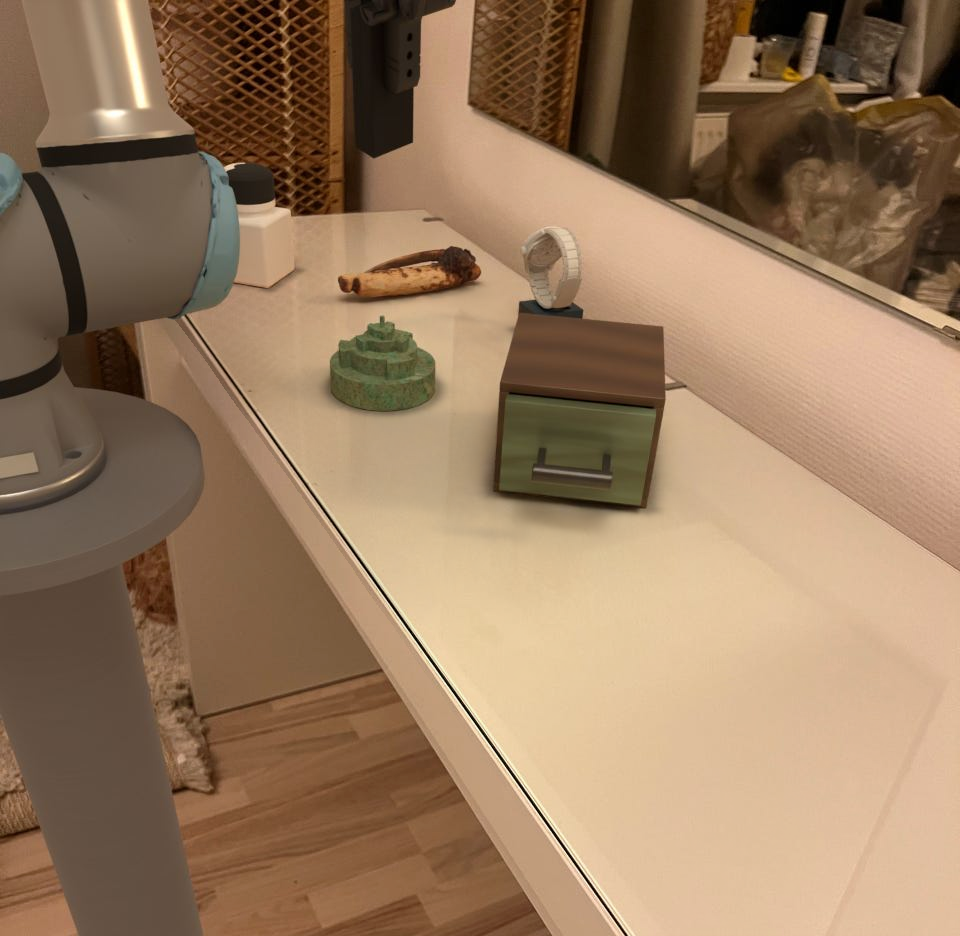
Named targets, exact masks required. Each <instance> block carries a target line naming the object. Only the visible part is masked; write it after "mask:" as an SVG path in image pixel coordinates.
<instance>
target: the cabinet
mask: <svg viewBox="0 0 960 936" xmlns="http://www.w3.org/2000/svg"><path fill="white" fill-rule="evenodd" d="M664 329H665V327H664V326H663V325H652V324H641V323H632V322H631V323H630V322H619V321H611V320H601V319H590V318H582V319H580V318H570V317H560V316H549V315H539V314H528V313H519V316H518V315H517V320H516V323H515V327H514V331H513V334H512V338H511V341H510V345H509V349H508V352H507V355H506V360H505V362H504V366H503V370H502V373H501V377H500V380H499V391H498V406H497V420H496V421H497V422H496V435H495V436H496V437H495V451H494V453H495V454H494V467H493V469H494V471H493V483H492V484H493V486H492V490H493V492H497V493H498V492H499V493H507V494H516V495H524V496H532V497H533V496H534V497H543V498H550V499H551V498H552V499H561V500H570V501H578V502H579V501H580V502H588V503H597V504H606V505H607V504H608V505H616V506H624V507H636V508H643V509H645V508H647V506H648V500H649V495H650V490H651V483H652V480H653V479H652V478H653V474H654V468H655V462H656V457H657V450H658V445H659V439H660V434H661V428H662V423H663V417H664V411H665V406H666V398H667V396H666V393H667V392H666V366H665V365H666V362H665V332H664ZM517 393H522V394H531V395H541V396H551V397H561V398H571V399H580V400H590V401H600V402H610V403H619V404H629V405H639V406H646V408H649V409H656V419H655V425H654V431H653V437H652V442H651V448H650V454H649V460H648V465H647V471H646V477H645V483H644V488H643V494H642V500H641V505H633V504H623V503H614V502H605V501H596V500H587V499H578V498H569V497H560V496H550V495H541V494H532V493H523V492H514V491H505V490H499V484H500V469H501V455H502V440H503V425H504V411H505V400H506V396H507V394H512V395H517Z"/></svg>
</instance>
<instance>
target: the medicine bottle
mask: <svg viewBox="0 0 960 936" xmlns="http://www.w3.org/2000/svg"><path fill="white" fill-rule="evenodd" d="M223 167H224V169H225V170H226V172H227V175H228V177H229V186H230V187H232V189H233V192H234V196H235V200H236V204H237V210H238V218H239V229H240V254H239V264H238V270H237V274H236V278H235V280H234V282H233V284H234V283H235V284H240V285H247V286H252V287H259V288H265V289H269V288H271V287H272V286H273V285H275V284H276V283H278V282H279V281H281V280H282V279H284V278H285V277H287V276H288V275H289V274H291V273H292V272H293V271H294V270H295V268H296V266H295V251H294V241H293V240H294V239H293V225H292V212H291V210H290V209H289V208H287V207H286V208H285V207H280V206H276V192H275V180H274V179H275V178H274V173H273V171H272V170H271V169H270V168H269V167H267V166H265V165H263V164H259V163H255V162H236V163H230V164H228V165H225V166H223Z"/></svg>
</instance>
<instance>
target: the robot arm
mask: <svg viewBox="0 0 960 936" xmlns="http://www.w3.org/2000/svg"><path fill="white" fill-rule="evenodd" d="M343 2H344V11H345V12H344V14H345V15H344V16H345V17H344V18H345V33H346V35H345V40H346V41H345V42H346V57H347V61H348V65H349V68H350V69H351V72H352V73H351V75H352V96H353V97H352V99H353V126H354V127H353V129H354V147H355V148H356V149H357V150H359V151H361V152H362V153H364V154H365V155H367V156H369V157H370V158H372V159H377V158H379V157H381V156H384V155H386V154H389V153H391V152H394V151H396V150H399V149H401V148H403V147H407V146H408V145H410V144H413V143H414V106H415V105H414V103H415V102H414V99H415V98H414V97H415V94H414V93H415V91H414V90H415V87H418V85H419V82H420V78H421V61H422V60H421V54H422V53H421V51H422V50H421V49H422V19H423V17H425V16H429V15H432V14H434V13H438V12H441V11H443V10H447V9H450V8H453V7H454V6H455V5H456V2H457V0H343ZM21 4H22V8H23V13H24V16H25V20H26V25H27V28H28V32H29V36H30V40H31V45H32V48H33V52H34V57H35V60H36V65H37V68H38V72H39V75H40V80H41V84H42V89H43V92H44V96H45V100H46V104H47V108H48V112H49V115H48V120H47V123H46V124H45V126H44V127H43V129H42V131H41V132H40V134H39V135H38V137H37V139H36V140H35V146H36V151H37V155H38V159H39V163H40V166H41V170H38V171H37V170H36V171H32V172H31V171H30V172H22V170H21V168H20V167H19V166H18V165H17V164H16V162H15V160H14V159H13V158H12V157H11V156H10V155H8V154H7V153H4V152H2V151H1V152H0V514H9V513H16V512H22V511H27V510H32V509H36V508H39V507H43V506H46V505H49V504H52V503H55V502H58V501H60V500H63V499H65V498H67V497H69V496H72V495H73V494H75V493H77V492H79V491H81V490H82V489H84V488H85V487H87V486H88V485H89V484H91V483H92V482H93V481H94V480H95V479H96V478H97V477H98V476H99V475H100V474H101V472H102V471H103V469H104V467H105V464H106V460H107V456H106V450H105V445H104V440H103V436H102V433H101V431H100V430H99V427H98V425H97V424H96V422H95V420H94V419H93V417H92V416H91V414H90V412H89V411H88V409H87V407H86V406H85V404H84V402H83V401H82V399H81V398H80V396H79V394H78V393H77V391H76V389H75V388H74V387H75V386H74V384H73V383H72V382H71V381H72V380H70V378H69V376H68V375H67V373H66V371H65V368H64V363H63V359H62V356H61V351H60V346H59V340H58V339H59V338H63V337H69V336H73V335H78V334H86V333H91V332H97V331H101V330H107V329H112V328H113V329H114V328H118V327H122V326H128V325H134V324H138V323H144V322H150V321H155V320H160V319H165V318H166V319H168V320H169V319H170V320H173V321H174V320H178V319H181V318H182V317H184V316H186V315H189V314H193V313H197V312H201V311H206V310H209V309H212V308H215V307H217V306H219V305H220V304H221V303H223V302H224V301H225V300H226V299H227V297H228V296H229V294H230V292H231V291H232V288H233V285H234V280H235V278H236V274H237V270H238V264H239V254H240V229H239V218H238V210H237V204H236V200H235V196H234V192H233V189H232V187H230V186H229V177H228V175H227V172H226V170H225V169H224V167H225V166H224V165H223V164H222V162H221V161H220V160H218V158H216V157H215V156H214V155H211V154H208V153H206V152H205V151H199V147H198V143H197V137H196V133H195V129H194V127H192V125H190V124H189V123H188V122H187V121H186V120H185V119H183V118H182V117H181V116H180V115H179V114H177V112H175V111H174V110H173V108H172V107H171V106H170V104H169V99H168V95H167V90H166V84H165V79H164V74H163V69H162V63H161V60H160V54H159V50H158V49H159V48H158V45H157V40H156V35H155V30H154V24H153V19H152V14H151V9H150V5H149V0H21Z"/></svg>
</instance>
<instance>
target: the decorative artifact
mask: <svg viewBox="0 0 960 936" xmlns="http://www.w3.org/2000/svg"><path fill="white" fill-rule="evenodd" d="M385 317H386V316H385V315H380V316H379V322H375V323H373V322H370V323H368V324H367V325H366V329H367V330H365V331H364V332H363V333H362V334H357V335H355V336H354V337H352V338H351V339H350V340H347V339H346V340H345V339H340V340H339V341H338V345H337V346H338V350H337V351H336V352H334V353H333V354H332V356H331V357H330V359H329V377H330V378H329V379H330V390H331V393H332V394H333V396H334V397H335V398H336V399H337V400H338V401H340V402H342V403H344V404H347V405H348V406H351V407H354V408H357V409H361V410H368V411H375V412H376V411H378V412H379V411H380V412H391V411H400V410H406V409H412V408H414V407H417V406H420V405H422V404H425V402H428V401H429V400H430V399H431V398H432V397H433V396H434V394H435V391H436V360H435V358H434V357H433V355H432V354H431V353H430V352H428V351H427V350H426V349H423V348H421V347H419V346H418V343H417V342H416V341H415V340H414V339H413V338H414V337H413V336H414V335H413V333H412V332H411V331H407V330H402V329H397V328H396V327H395V326H396V324H395V323H394V322H393V321H386V318H385Z"/></svg>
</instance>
